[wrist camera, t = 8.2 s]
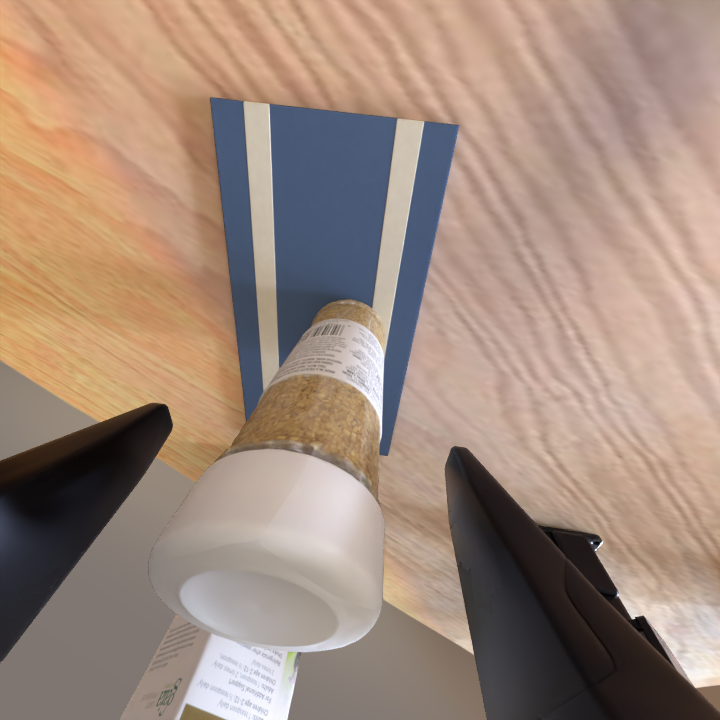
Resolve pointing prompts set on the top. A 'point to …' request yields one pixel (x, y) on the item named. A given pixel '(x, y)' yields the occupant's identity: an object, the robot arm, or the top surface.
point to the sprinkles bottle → (291, 503)
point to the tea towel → (326, 227)
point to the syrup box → (213, 679)
